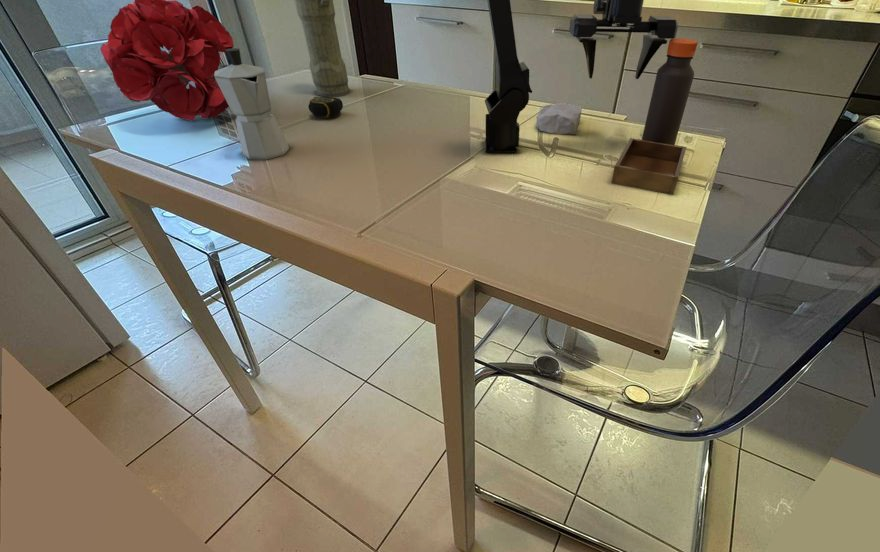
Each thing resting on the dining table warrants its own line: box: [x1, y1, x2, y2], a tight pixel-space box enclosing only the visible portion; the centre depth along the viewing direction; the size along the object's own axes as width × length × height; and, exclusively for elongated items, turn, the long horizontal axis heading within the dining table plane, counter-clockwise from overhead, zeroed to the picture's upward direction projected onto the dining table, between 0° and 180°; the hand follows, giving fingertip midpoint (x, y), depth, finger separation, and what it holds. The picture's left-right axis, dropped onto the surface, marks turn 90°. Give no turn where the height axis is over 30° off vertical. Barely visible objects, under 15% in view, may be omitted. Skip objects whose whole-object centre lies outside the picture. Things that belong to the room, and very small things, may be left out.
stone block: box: [536, 102, 583, 135], centre depth 103 cm, size 12×5×10 cm
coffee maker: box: [214, 47, 290, 161], centre depth 83 cm, size 15×9×18 cm, turn 47°
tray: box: [611, 137, 687, 195], centre depth 84 cm, size 11×15×3 cm
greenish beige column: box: [294, 0, 350, 98], centre depth 109 cm, size 9×12×35 cm
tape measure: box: [308, 96, 344, 119], centre depth 104 cm, size 7×7×4 cm
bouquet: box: [99, 0, 235, 122], centre depth 99 cm, size 22×24×30 cm
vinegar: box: [641, 37, 698, 145], centre depth 87 cm, size 7×7×20 cm
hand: (613, 78), depth 87 cm, fingers open, 9 cm apart
